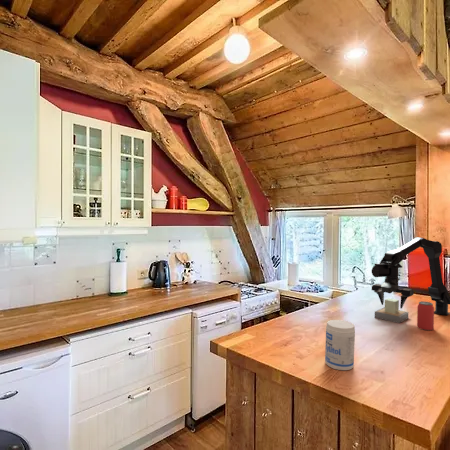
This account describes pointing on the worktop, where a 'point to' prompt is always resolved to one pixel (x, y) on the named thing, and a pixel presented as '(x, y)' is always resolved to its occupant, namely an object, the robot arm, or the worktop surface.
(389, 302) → the cream block
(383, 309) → the slate base
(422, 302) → the beer can
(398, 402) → the worktop surface
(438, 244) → the robot arm
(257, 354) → the worktop surface
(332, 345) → the supplement tub
